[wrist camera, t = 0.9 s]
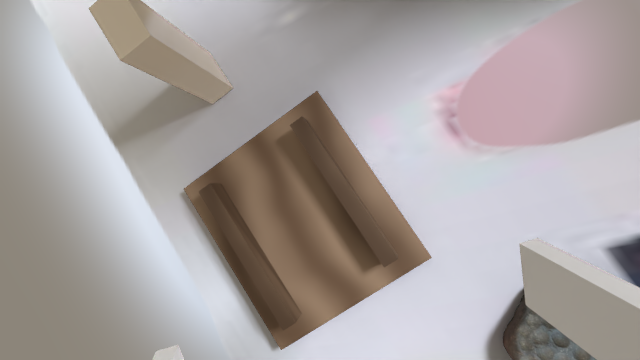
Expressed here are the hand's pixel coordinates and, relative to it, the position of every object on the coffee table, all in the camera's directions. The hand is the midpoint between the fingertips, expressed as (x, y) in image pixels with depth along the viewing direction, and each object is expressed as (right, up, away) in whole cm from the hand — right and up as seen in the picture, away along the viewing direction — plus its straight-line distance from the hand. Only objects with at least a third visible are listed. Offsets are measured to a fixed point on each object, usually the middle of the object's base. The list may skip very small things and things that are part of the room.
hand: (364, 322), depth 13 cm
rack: (-4, +1, +24) cm, 25 cm away
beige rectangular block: (-14, +17, +27) cm, 35 cm away
